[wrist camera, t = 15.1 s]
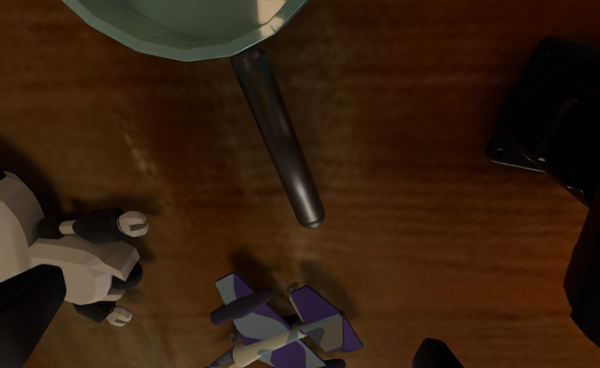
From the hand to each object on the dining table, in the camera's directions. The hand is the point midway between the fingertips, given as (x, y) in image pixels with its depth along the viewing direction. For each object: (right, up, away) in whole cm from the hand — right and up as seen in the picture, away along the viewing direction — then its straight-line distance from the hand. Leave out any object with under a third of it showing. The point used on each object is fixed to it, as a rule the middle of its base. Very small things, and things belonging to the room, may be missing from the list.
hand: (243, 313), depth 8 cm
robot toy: (-17, 0, +17) cm, 23 cm away
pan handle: (+1, +5, +9) cm, 11 cm away
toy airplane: (-1, -7, +19) cm, 21 cm away
